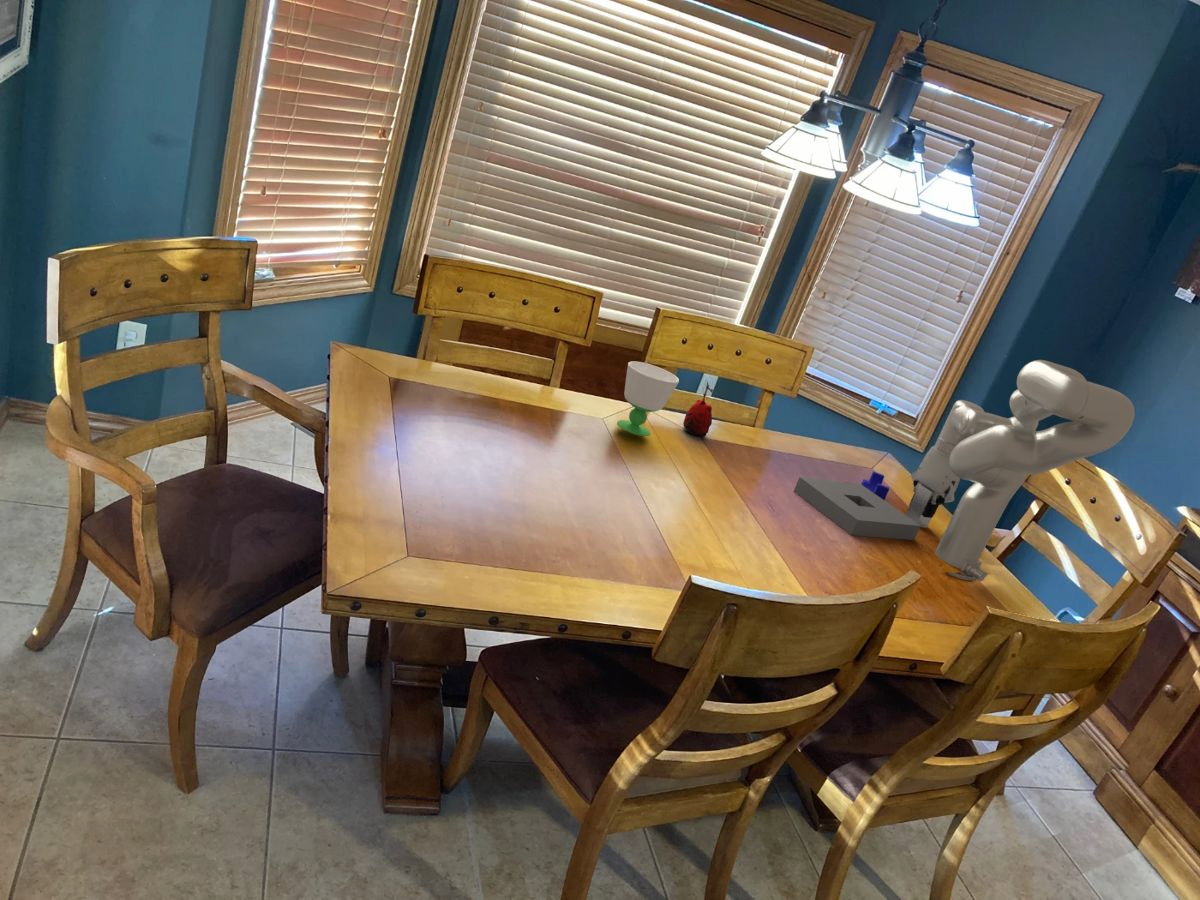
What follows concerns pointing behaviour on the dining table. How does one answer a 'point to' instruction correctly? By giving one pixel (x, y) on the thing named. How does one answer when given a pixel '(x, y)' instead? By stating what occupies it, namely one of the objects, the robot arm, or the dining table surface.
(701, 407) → the red fruit with stem
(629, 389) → the cup
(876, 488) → the blue stepped block
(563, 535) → the dining table surface
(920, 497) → the metal bar
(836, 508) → the well block
